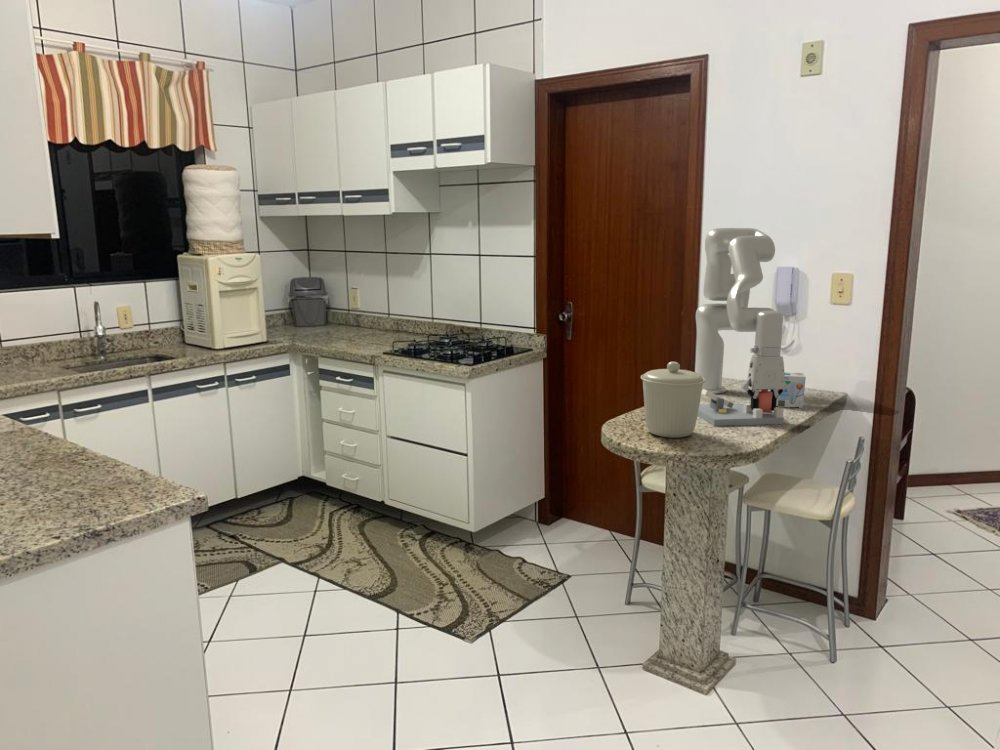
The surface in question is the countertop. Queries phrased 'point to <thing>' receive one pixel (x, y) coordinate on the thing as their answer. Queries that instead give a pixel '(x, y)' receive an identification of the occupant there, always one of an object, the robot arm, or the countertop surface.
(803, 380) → the light bulb box
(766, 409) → the cap
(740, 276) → the robot arm
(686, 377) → the canister
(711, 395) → the lever
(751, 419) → the panel
